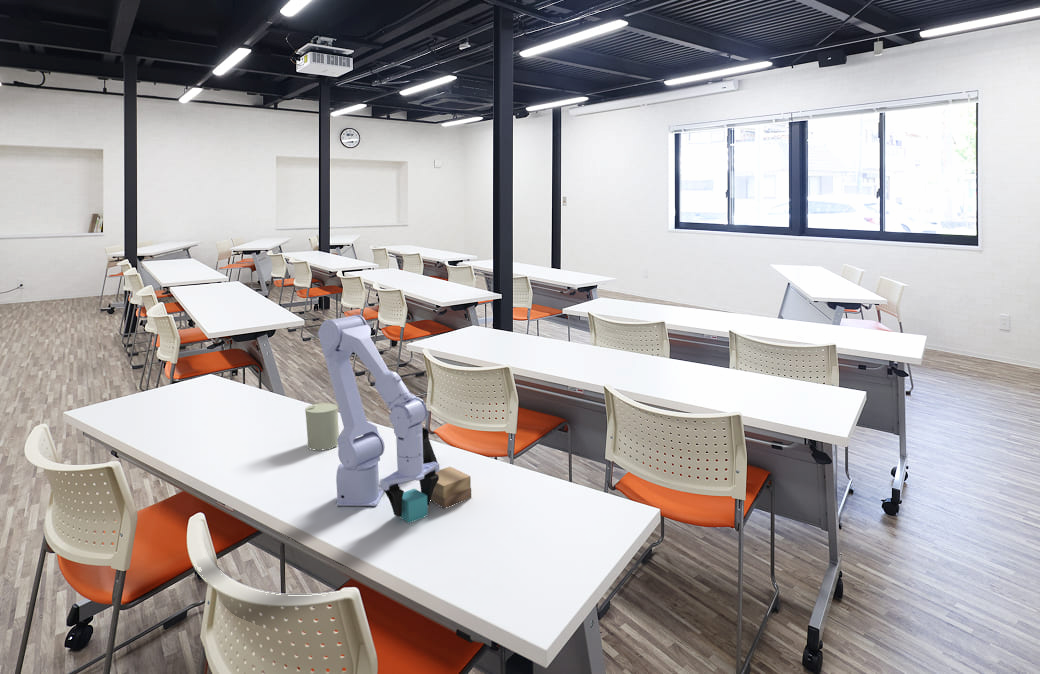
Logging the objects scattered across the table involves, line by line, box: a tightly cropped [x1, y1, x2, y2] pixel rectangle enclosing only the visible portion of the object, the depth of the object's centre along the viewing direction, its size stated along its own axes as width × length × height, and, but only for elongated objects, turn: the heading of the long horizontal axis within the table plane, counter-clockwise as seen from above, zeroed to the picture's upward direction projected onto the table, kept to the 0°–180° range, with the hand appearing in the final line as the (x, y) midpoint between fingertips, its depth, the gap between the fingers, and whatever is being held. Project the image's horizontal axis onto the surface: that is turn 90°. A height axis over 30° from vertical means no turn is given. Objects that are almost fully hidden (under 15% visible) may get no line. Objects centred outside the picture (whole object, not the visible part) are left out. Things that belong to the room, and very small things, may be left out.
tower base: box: [430, 487, 472, 509], centre depth 149 cm, size 8×8×3 cm
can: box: [304, 402, 340, 451], centre depth 182 cm, size 9×9×12 cm
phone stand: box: [422, 426, 439, 464], centre depth 165 cm, size 9×6×12 cm, turn 135°
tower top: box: [433, 466, 472, 498], centre depth 148 cm, size 8×8×3 cm
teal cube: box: [400, 488, 429, 524], centre depth 140 cm, size 5×5×5 cm
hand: (412, 509), depth 140 cm, fingers open, 7 cm apart
